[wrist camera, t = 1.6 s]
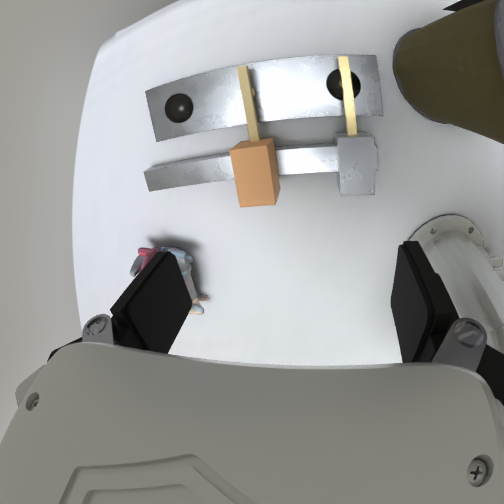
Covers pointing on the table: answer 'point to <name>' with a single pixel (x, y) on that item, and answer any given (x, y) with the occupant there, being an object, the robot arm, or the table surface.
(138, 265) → the brake caliper
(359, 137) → the fixed leg
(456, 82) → the canister
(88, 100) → the table surface
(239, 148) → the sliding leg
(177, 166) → the rail
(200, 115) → the strip
